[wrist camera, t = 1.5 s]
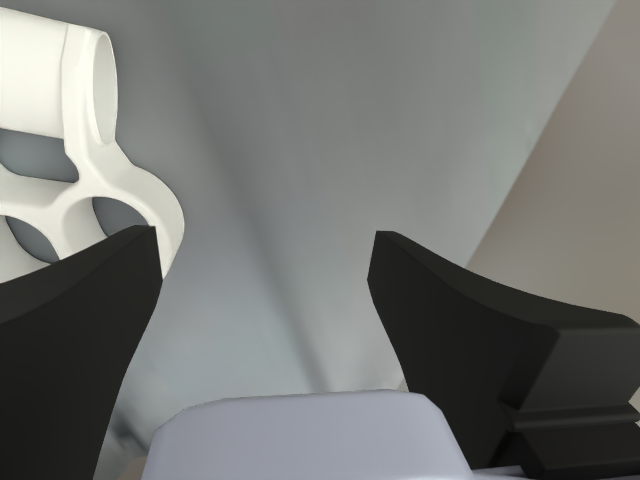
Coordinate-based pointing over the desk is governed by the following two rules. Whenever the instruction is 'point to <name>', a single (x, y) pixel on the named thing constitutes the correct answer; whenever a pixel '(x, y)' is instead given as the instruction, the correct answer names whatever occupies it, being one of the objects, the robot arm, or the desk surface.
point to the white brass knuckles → (70, 141)
